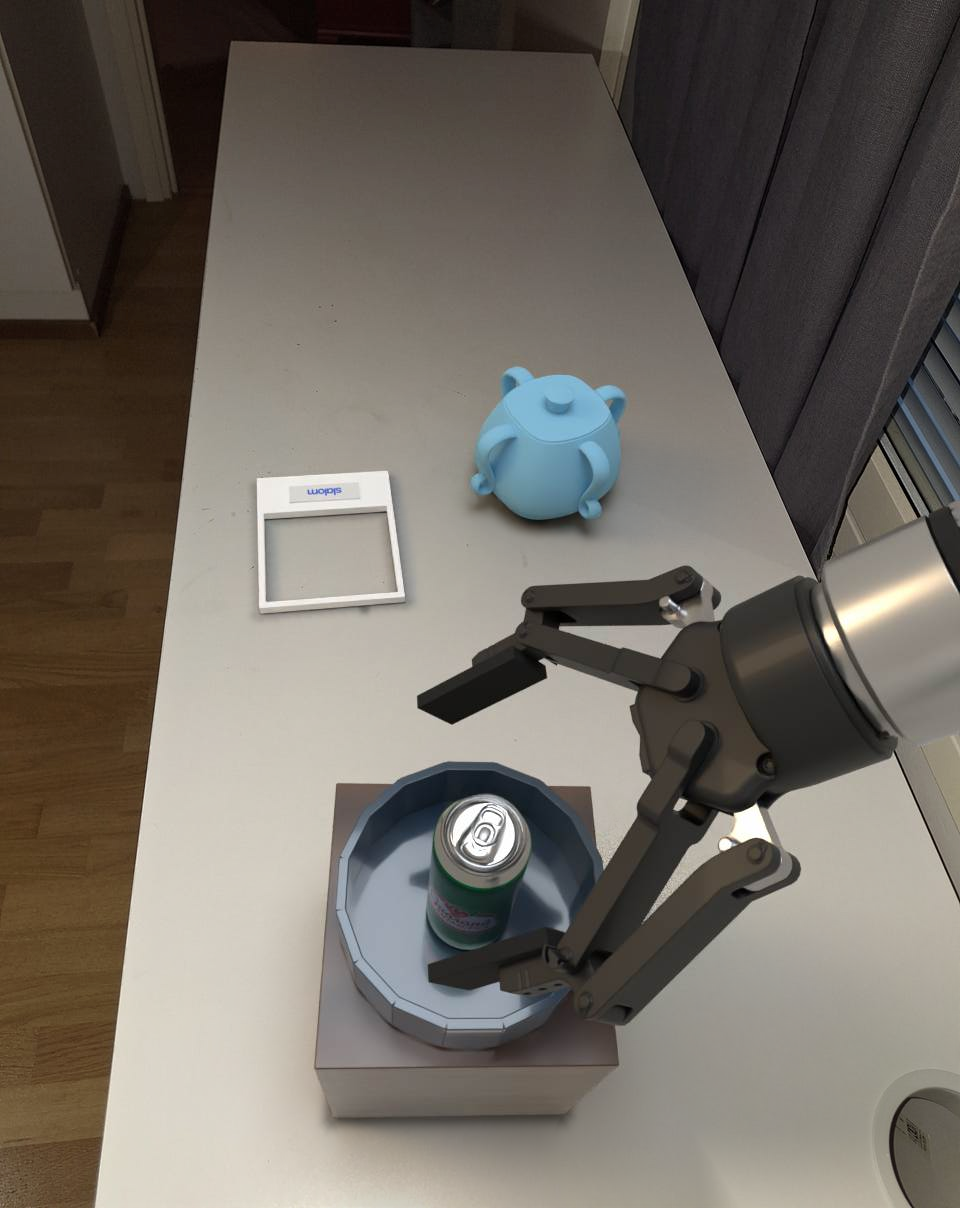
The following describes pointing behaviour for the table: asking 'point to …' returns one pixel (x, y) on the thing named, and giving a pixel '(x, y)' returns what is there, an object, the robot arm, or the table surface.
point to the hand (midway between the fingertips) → (440, 832)
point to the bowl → (399, 902)
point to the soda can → (476, 869)
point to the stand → (429, 1072)
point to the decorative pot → (550, 445)
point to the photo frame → (325, 499)
